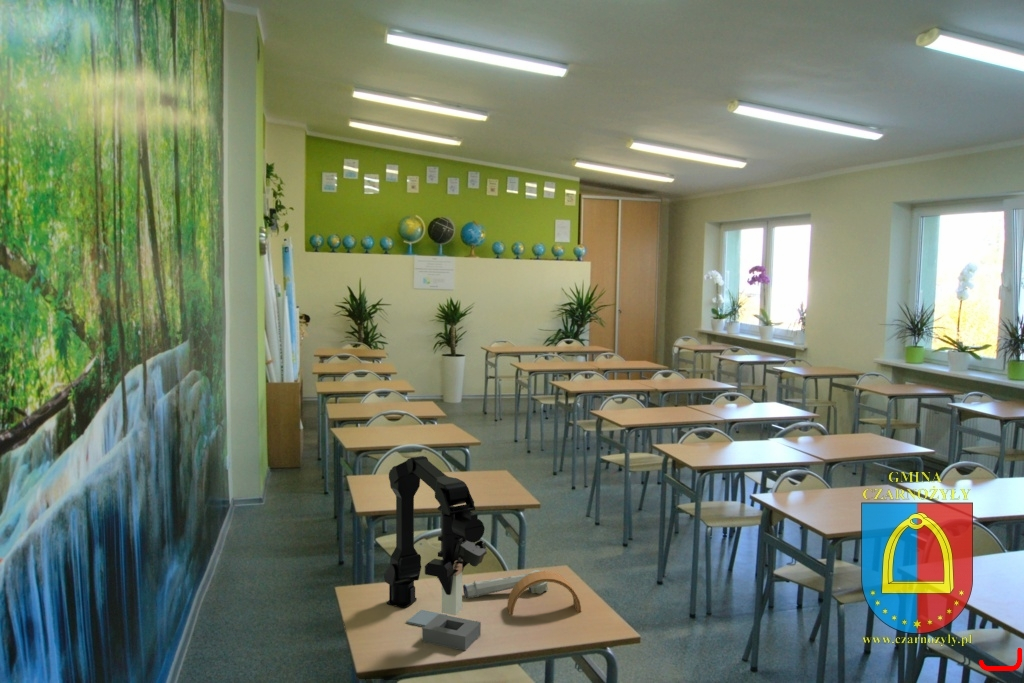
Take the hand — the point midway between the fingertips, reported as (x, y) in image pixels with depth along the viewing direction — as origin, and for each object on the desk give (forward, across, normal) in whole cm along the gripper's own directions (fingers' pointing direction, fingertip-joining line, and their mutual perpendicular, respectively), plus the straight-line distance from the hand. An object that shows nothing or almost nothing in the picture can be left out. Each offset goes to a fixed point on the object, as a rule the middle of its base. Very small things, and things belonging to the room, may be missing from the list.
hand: (451, 591), depth 189 cm
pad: (+12, +7, +11) cm, 18 cm away
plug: (+5, 0, 0) cm, 5 cm away
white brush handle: (+13, +32, -2) cm, 35 cm away
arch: (+12, +26, -16) cm, 33 cm away
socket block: (+12, 0, 0) cm, 12 cm away
